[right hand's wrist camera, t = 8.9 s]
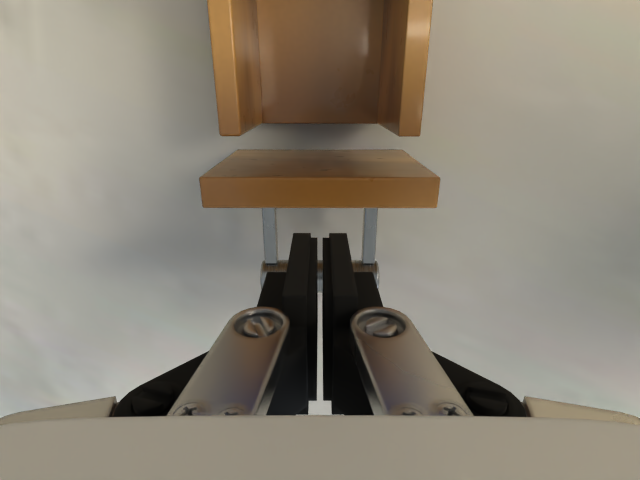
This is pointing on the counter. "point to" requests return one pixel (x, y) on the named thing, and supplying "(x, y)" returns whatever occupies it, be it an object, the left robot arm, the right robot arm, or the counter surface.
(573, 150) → the counter surface
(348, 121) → the drawer
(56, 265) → the counter surface
